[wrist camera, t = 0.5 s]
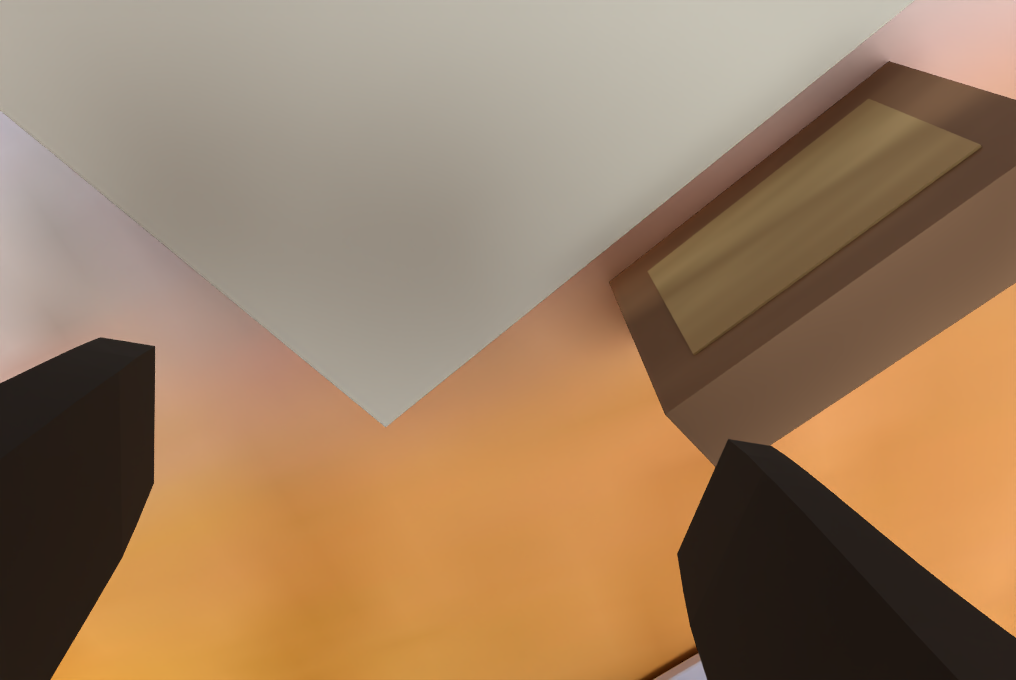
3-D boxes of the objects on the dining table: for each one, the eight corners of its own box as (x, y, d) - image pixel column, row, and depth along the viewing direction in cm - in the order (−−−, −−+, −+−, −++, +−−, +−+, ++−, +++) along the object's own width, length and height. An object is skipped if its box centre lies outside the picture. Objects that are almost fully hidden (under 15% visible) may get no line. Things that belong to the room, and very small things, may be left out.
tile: (926, 127, 18) (1124, 210, 12) (654, 331, 20) (723, 475, 15) (886, 59, 17) (1079, 117, 12) (607, 280, 19) (663, 412, 14)
